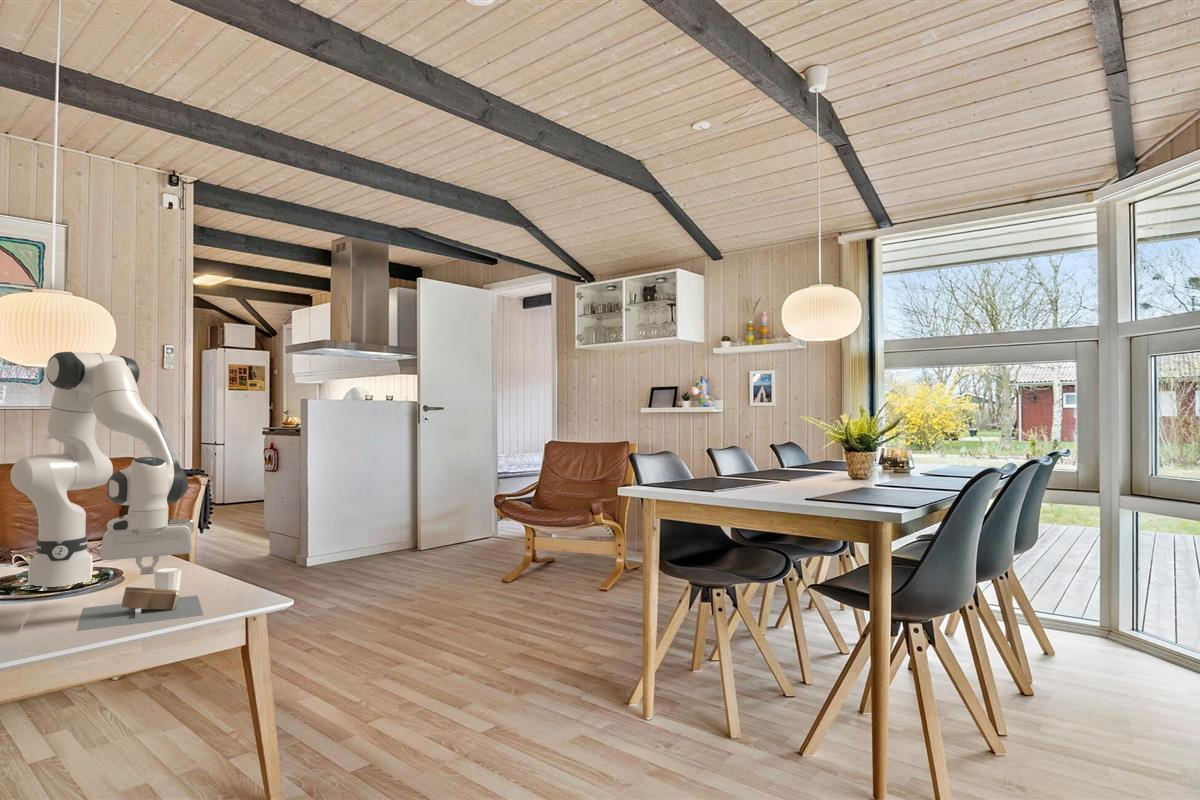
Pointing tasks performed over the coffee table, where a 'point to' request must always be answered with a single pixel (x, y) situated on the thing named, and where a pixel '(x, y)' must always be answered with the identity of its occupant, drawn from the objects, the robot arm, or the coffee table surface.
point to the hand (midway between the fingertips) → (146, 574)
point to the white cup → (167, 578)
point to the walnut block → (150, 598)
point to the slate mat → (136, 614)
